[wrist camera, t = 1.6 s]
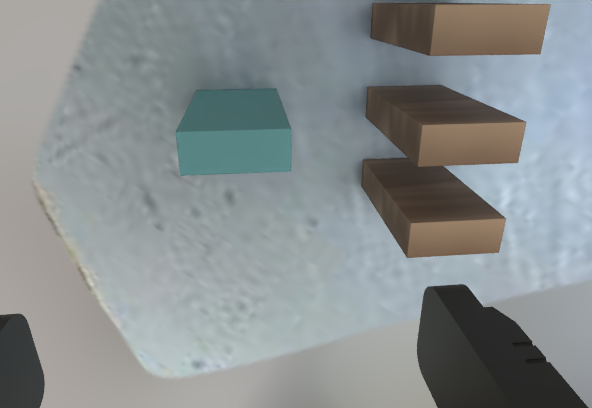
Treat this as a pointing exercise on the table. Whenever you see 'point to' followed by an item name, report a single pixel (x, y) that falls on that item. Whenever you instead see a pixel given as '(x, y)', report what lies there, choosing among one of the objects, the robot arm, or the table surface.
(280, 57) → the table surface
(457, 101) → the tile
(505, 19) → the tile
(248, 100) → the tile
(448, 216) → the tile
